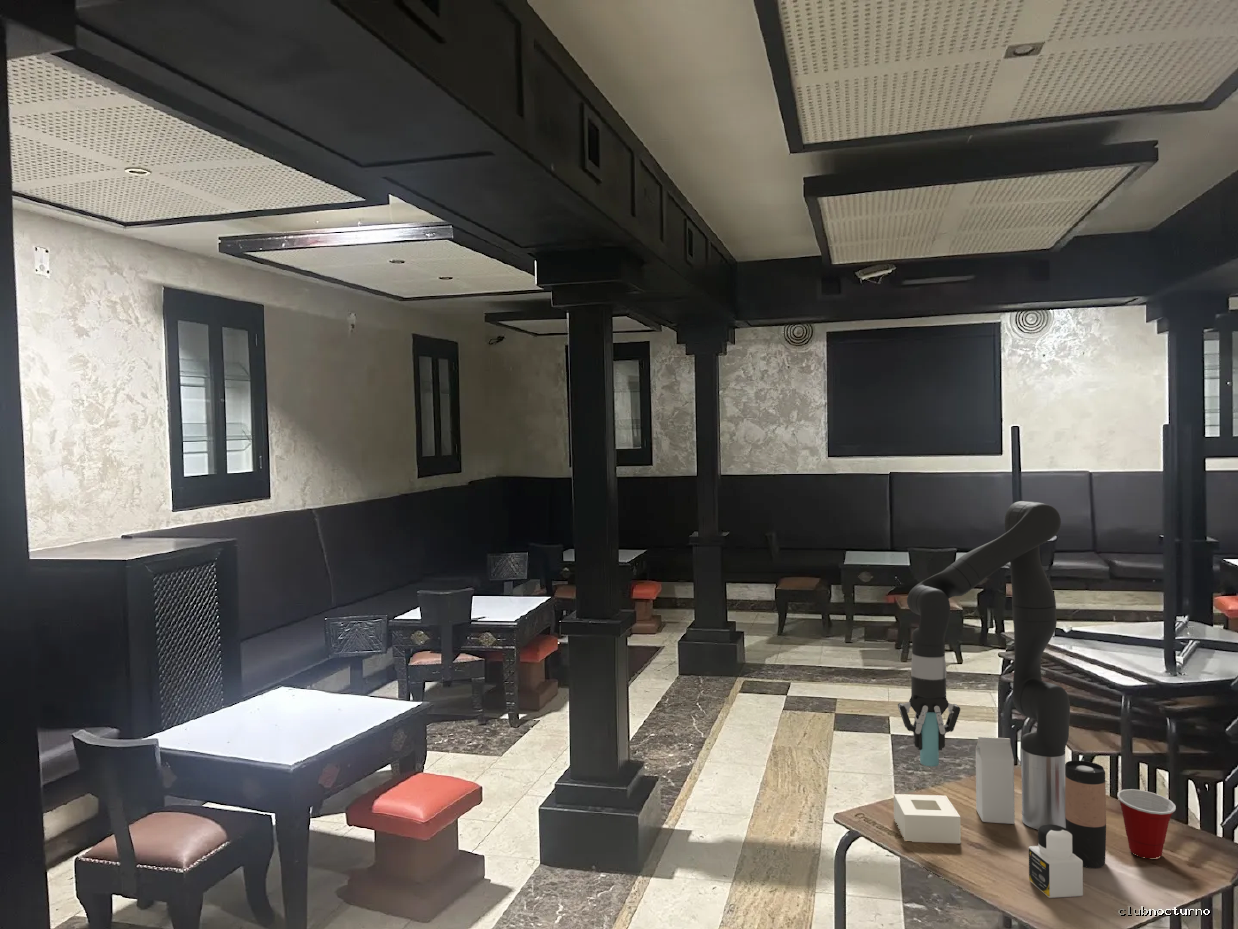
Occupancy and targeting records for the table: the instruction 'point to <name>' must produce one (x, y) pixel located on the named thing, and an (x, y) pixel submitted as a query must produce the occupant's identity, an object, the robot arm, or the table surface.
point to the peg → (930, 741)
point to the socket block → (927, 818)
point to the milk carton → (995, 780)
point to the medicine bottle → (1055, 863)
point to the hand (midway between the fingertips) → (929, 748)
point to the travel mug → (1086, 811)
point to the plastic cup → (1145, 821)
